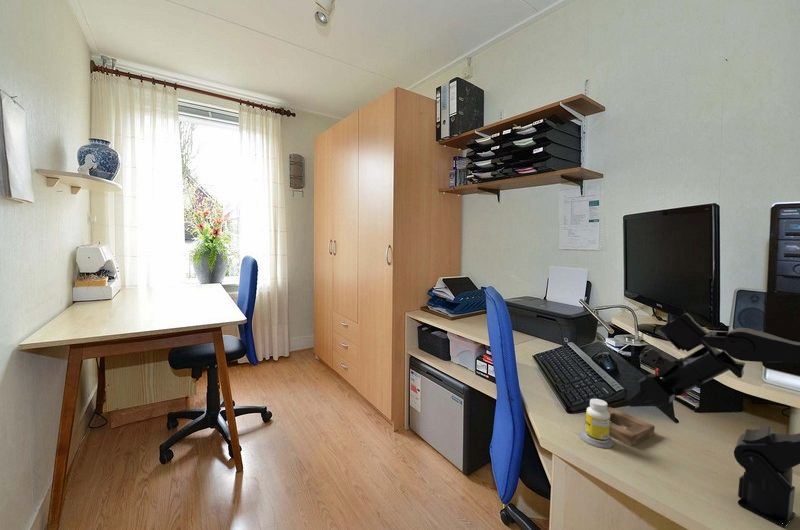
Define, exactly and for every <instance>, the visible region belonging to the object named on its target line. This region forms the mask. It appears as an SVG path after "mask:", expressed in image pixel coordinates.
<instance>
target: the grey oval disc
mask: <svg viewBox="0 0 800 530" xmlns="http://www.w3.org/2000/svg"><path fill="white" fill-rule="evenodd" d="M585 431H586V428H585V429H581V430H579V432H578V436H579V438H580V440H581V441H583V442H584V443H586V444H588V445H590V446H593V447H596V448H600V449H601V448H602V449H610V448H612V447H613V446H614V444H615V443H614V440H613V439H612V437H611V436H609V441H608V442H606V443H599V442H595V441H592V440H590V439H589V438H588V437H587V436H586V433H585Z"/></svg>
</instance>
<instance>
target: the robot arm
mask: <svg viewBox="0 0 800 530" xmlns="http://www.w3.org/2000/svg"><path fill="white" fill-rule="evenodd" d="M657 331H658V332H659V333H660V334H661V335H662V336H664V338H665V339H667V341H668V342H669V343H670V344H671V345H673V346H674V347H675V348H676V349H677V350H678V351H680V350H682V351H683V352H684V351H686V352H687V353H688V352H691V351H692V350H694V349H696V348H697V347H699V346H700V345H702V347H700V348H699V349H697V350H696V351H694V352H692V353H690V354H688V355H687V356H685V357H681V358H678V359H676V358H675V357H674V356H672V355H670V354H669V353H667V352H665V351H664V350H661V349H660V348H658V347H657V346H655V345H651V344H650V345H646V346H645V347H644V348H643V350H641V351H640V355H639V356H638V357H639V359H640V360H642V361H643V362H647V363H648V364H650V365H652V367H654V368H656V369H657V370H656V372H657V374H658V375H657V374H654V373H649V374H647V375H645V376H643V377H641V378H640V379H638V385H639V390H638V391H637V392H635V394H634V395H633V396H632V397H631V398H630V399H629V400H628V401H627V402H626V403H627V404H628V405H629V407H630V408H633V407H659V408H660V407H661V408H662V407H664V406H666V405H668V404H670V403H672V402H674V401H675V398H676V397H679V396H682V395H684V394H687V393H688V392H690V391H692V390H694V389H695V388H697V387H699V386H702V385H704V384H705V383H707V382H709V381H710V380H711V381H712V380H713V379H714V378H715V379H716V378H717V377H718V376H721V375H723V374H724V373H726V372H728V371H730V372H732V374H733V375H734V376H736V378H738V379H742V378H743V375H744V367H745V365H746V363H745V362H755V363H757V362H758V363H788V364H795V365H800V342H799V341H794V340H790V339H786V338H783V337H779V336H777V335H773V334H770V333H768V332H764V331H760V330H755V329H752V328H748V327H736V328H733V329H731V330H730V331H716V330H714V331H710V330H709V331H707V330H706V329H704V327H702V326H701V325H700V324H699V322H697V321H695V319H694V318H693V316H691V315H690V314H689V313H688V312H685V313H683V314H682V315H680V316H679V317H677V318H674V319H673V320H671V321H669V322H667V323H666V324H664V325H662V326H661V327H660V328H658V329H657ZM735 359H736V360H735ZM737 360H738V361H737ZM742 361H744V362H742ZM733 456H734V459H735V460H736V462H737V463H738V464H739V466H740V467H742V468H743V469H744V470H745V471H744V472H743V474H742V475H741V476H740V477H739V482H738V491H737V492H738V493H737V496H738V497H739V500H738V501H737V505H739V506H741V507H743V508H744V509H746V510H748V511H750V512H753V513H754V514H756V513H757V514H756V515H758V516H760V515H761V516H760V517H762V516H763V517H762V518H764V517H765V518H764V519H766V518H768V519H769V520H768V519H767V520H768V521H770V520H772V521H774V522H776V523H778V524H780V525H782V526H786V525H787V524H788V523H789V521H790V520H791V519H792V518H793V517H794V516H795V517H796V512H794V504H795V503H794V502H795V492H796V491H795V490H796V487H795V486H793V475H794V474H793V472H794V470H793V468H794V467H796V466H799V465H800V432H799V433H794V434H793V433H792V434H784V433H778V432H777V433H775V432H774V430H773V429H772V426H771V425H770V426H769V425H767V426H764V427H760V428H758V429H748V428H746V429H745V431H744V433H742V434H740V435H739V436H738V438H737V441H736V444H735V447H734V450H733ZM795 517H794V518H795ZM794 518H793V519H794ZM793 519H792V520H793ZM772 521H771V522H772ZM774 522H773V523H774ZM776 523H775V524H776ZM782 523H783V524H782ZM778 524H777V525H778ZM789 524H790V523H789ZM789 524H788V525H789ZM780 525H779V526H780ZM788 525H787V526H788ZM782 526H781V527H782Z"/></svg>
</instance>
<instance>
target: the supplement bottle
mask: <svg viewBox="0 0 800 530" xmlns="http://www.w3.org/2000/svg"><path fill="white" fill-rule="evenodd" d="M607 408H608V403H607V401H605V400H603V399H600V398H591V399H589V406H588V407H586V413H585V414H586V415H585V422H586V424H585V429H586V431H585V433H586V436H587V437H588V438H589V439H590V440H592V441H595V442H599V443H606V442H608V441H609V437H610V436H609V427H610V413H609V412H608V411H607Z"/></svg>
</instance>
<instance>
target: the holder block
mask: <svg viewBox="0 0 800 530" xmlns="http://www.w3.org/2000/svg"><path fill="white" fill-rule="evenodd" d="M607 411H608V412H609V413H610V421H612V422H610V427H609V437H610V438H613V439H615V440H617V441H619V442H621V443H623V444H625V445H628V446H629V447H632V446H634V445H636V444H638V443H640V442H642V441H644V440H646V439H648V438H651V437H653V436H654V435H655V428H656V427H655V425H654V424H651V423H649V422H647V421H644V420H642V419H639V418H637V417H634V416H632V415H630V414H628V413H626V412H623V411H620V410H618V409H616V408H613V407H611V406H607ZM613 420H614V421H616V422H615V423H613V422H614V421H613ZM617 422H618V423H617ZM616 423H617V424H616ZM619 423H620V424H619ZM618 424H619V425H618ZM621 424H622V425H621ZM584 425H586V421H585V423H584ZM620 425H621V426H620ZM623 425H624V426H623ZM622 426H623V427H622ZM624 427H626V428H624Z"/></svg>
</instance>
